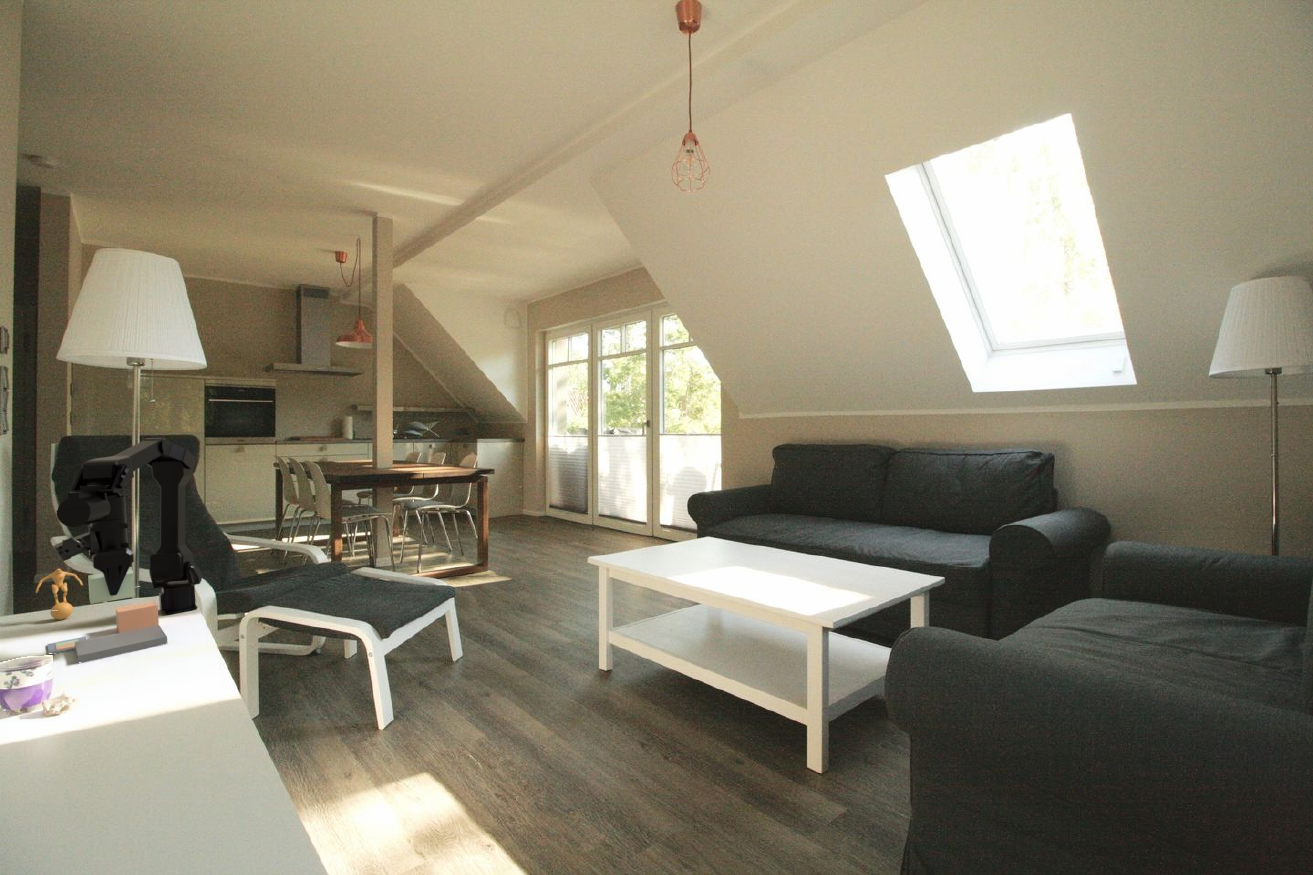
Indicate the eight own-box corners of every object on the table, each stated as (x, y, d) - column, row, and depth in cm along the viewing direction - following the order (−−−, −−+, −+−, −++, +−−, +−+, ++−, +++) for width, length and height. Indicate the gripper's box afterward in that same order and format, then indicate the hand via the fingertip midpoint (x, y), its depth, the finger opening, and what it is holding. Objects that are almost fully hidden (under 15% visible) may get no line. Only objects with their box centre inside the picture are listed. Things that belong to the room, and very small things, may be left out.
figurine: (39, 625, 149) (35, 574, 148) (36, 620, 153) (33, 570, 152) (86, 616, 155) (83, 567, 154) (83, 611, 159) (79, 563, 158)
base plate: (159, 631, 143) (159, 624, 143) (167, 643, 135) (167, 636, 135) (75, 649, 133) (74, 641, 133) (78, 663, 125) (78, 655, 125)
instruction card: (85, 637, 140) (85, 635, 140) (88, 646, 134) (87, 645, 134) (47, 645, 135) (47, 643, 135) (48, 655, 130) (48, 653, 130)
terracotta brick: (155, 621, 150) (154, 600, 150) (158, 626, 147) (157, 605, 147) (116, 629, 145) (115, 607, 145) (119, 634, 142) (117, 612, 142)
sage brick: (132, 592, 138) (131, 569, 138) (134, 596, 135) (133, 573, 134) (89, 599, 133) (88, 575, 133) (90, 603, 130) (89, 579, 130)
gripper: (55, 519, 135) (59, 592, 135) (56, 529, 121) (61, 610, 122) (123, 513, 142) (127, 582, 143) (132, 521, 129) (136, 598, 129)
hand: (112, 592), depth 134 cm, fingers closed on sage brick, 5 cm apart
